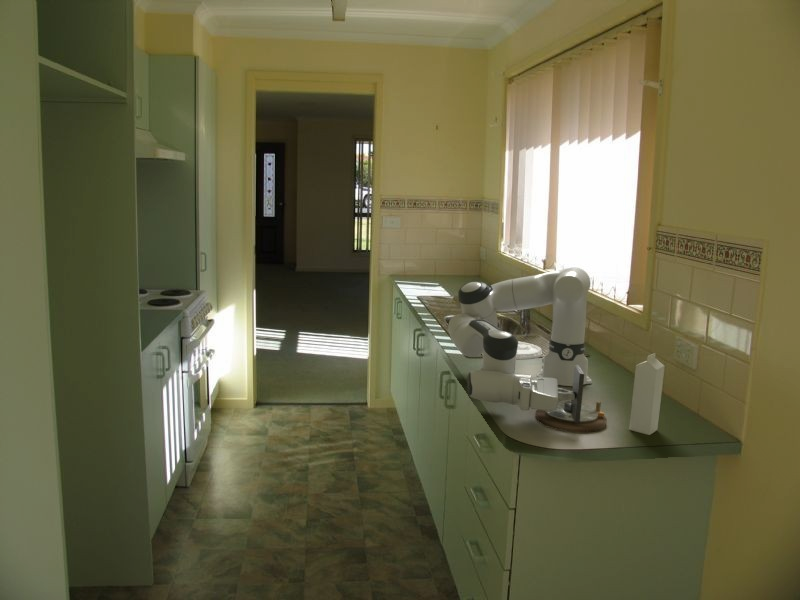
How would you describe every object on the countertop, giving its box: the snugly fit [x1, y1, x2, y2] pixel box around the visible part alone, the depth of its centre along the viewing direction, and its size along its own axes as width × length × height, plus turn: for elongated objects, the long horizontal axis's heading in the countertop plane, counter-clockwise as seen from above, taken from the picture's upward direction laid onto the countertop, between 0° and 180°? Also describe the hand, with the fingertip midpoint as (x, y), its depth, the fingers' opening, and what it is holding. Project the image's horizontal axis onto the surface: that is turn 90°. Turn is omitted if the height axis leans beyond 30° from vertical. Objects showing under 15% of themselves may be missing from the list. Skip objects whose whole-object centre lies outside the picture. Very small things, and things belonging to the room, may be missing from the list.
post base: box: [535, 401, 607, 433], centre depth 209 cm, size 20×20×5 cm
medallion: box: [481, 340, 543, 360], centre depth 287 cm, size 24×27×2 cm
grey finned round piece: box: [545, 365, 605, 423], centre depth 206 cm, size 18×17×15 cm
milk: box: [628, 352, 666, 436], centre depth 202 cm, size 6×6×22 cm
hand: (574, 395), depth 201 cm, fingers closed
